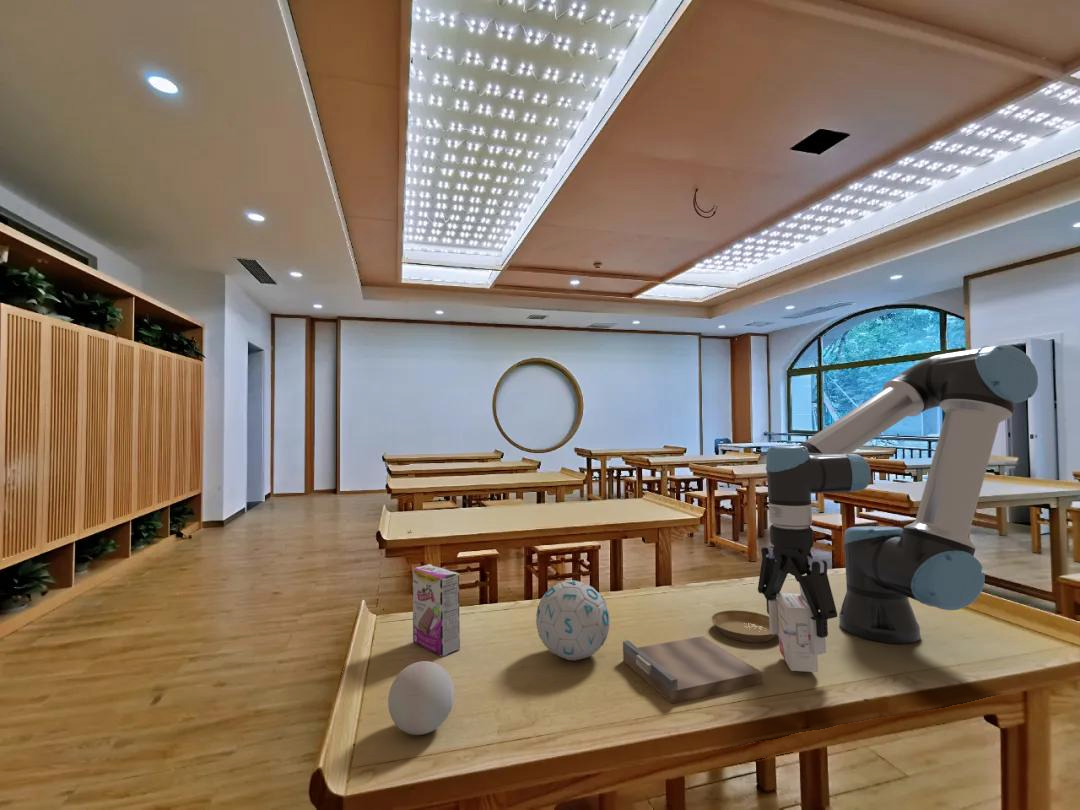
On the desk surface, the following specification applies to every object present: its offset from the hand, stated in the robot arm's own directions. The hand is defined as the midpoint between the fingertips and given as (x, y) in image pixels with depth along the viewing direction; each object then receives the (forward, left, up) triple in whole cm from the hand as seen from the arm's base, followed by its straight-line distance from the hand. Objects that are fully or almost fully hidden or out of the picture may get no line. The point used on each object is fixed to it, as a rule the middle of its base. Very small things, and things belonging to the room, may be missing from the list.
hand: (796, 642), depth 97 cm
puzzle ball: (+38, -20, -5) cm, 43 cm away
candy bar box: (+64, -35, -5) cm, 73 cm away
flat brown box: (+20, -6, -5) cm, 22 cm away
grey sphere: (+70, -5, -5) cm, 71 cm away
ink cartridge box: (0, 0, -4) cm, 4 cm away
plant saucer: (-3, -17, -5) cm, 18 cm away
